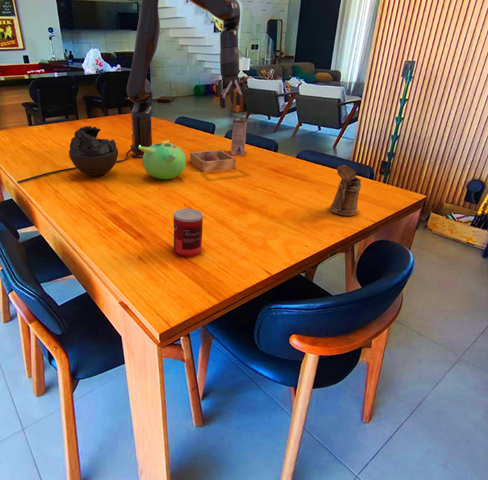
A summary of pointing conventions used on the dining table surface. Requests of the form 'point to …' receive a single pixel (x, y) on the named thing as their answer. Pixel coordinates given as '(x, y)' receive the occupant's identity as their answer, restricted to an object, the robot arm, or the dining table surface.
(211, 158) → the sweet potato
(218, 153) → the brown wooden tray
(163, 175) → the toy bird
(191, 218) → the canned food
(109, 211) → the dining table surface
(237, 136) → the coffee box
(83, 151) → the coal bowl
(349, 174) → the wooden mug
